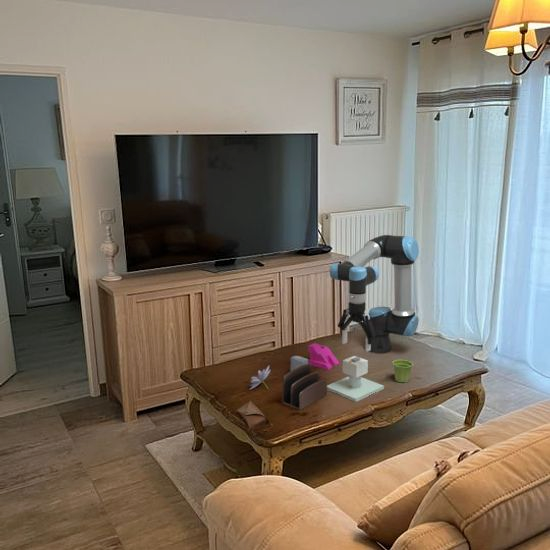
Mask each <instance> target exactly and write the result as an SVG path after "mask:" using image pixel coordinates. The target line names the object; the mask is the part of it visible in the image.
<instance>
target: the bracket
mask: <svg viewBox="0 0 550 550" xmlns="http://www.w3.org/2000/svg"><path fill="white" fill-rule="evenodd" d="M307 350H308V351H307V352H308V353H310V354H309V355H310V356H309V357H310V358H309V359H308V364H311V367H316V368H319V369H322V368H323V370H327V371H329V370H331V369H333V366H334V365H335V367H337V366H338V365H339V364H340V362H339V360H338V359H337V357H335V355H334V353H333V351H331V349H330V348H329V347H328V346H325V345H321V344H318V343H315V342H314V343H311V344H310V345H308V349H307ZM337 364H338V365H337Z"/></svg>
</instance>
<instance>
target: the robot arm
mask: <svg viewBox="0 0 550 550" xmlns="http://www.w3.org/2000/svg"><path fill="white" fill-rule="evenodd" d="M419 252H420V249H419V243H418V241H417V240H416V239H415V238H414V237H413V236H412V237H410V236H407V235H406V236H403V235H390V234H383V235H378V236H376V237H373V238H371V239H370V240H368V241H367V242H366V243H364V245H363V247H362V248H360V249H359V250H358V251H356V252H355V253H354V254H352V255H351V256H349V257H348V258H346V260H344V261H343V262H342V263H332V264H331V265H330V268H329V276H330V278H331V279H332V280H336V281H342V282H348V301H349V302H348V307H347V308H346V309H343V311H342V315H341V317H340V319H339V321H338V324H337V327H338V328H340V335H341V336H342V337H341V345H342V344H343V345H344V344H347V343H348V328H347V327H348V326H349V325H350V324H351V323H352V322H354V323H357V324H359V325H360V326H361V328H362V330H363V332H364V334H365V335H366V337H365V341H364V344H363V345H364V346H363V349H364V348H365V349H364V350H365V352H370V353H373V352H375V353H374V354H386V352H387V353H390V352H392V351H393V344H392V341H391V337H390V334H392V335H398V336H403V337H413V336H414V335H415V334H416V331H417V330H418V326H419V316H418V315H416V314H415V309H413V308H412V266H413V264H415V262H416V260H417V259H418V258H419ZM379 258H387V259H390V264H391V265H393V272H394V274H393V277H394V278H393V280H394V281H393V282H394V283H393V284H394V286H393V288H394V289H393V290H394V291H393V292H394V308H393V309H392V308H391V307H389V306H376V307H372V308H370V309H369V310H368V314H366V312H365V311H366V304H367V303H366V300H367V286H368V285H371V284H374V283H375V282H376V281H377V280H378V279H379V276H380V273H379V272H380V271H379V270H378V268H377V267H375V266H373V265H370V266H369V265H368V266H366V265H367V264H369V263H370V262H371V261H373V260H376V259H379ZM391 309H392V310H391ZM391 350H392V351H391Z"/></svg>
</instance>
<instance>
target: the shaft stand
mask: <svg viewBox="0 0 550 550" xmlns="http://www.w3.org/2000/svg"><path fill="white" fill-rule="evenodd" d="M360 358H361V357H359V356H356V357H355V358H353V359H351V361H353V362H357V361H359V360H360ZM384 389H385V385H383V384H380V383H378V382H376V381H373V380H370V379H368V378H365V377H362V376H359V377H357V378H356V377H353V376H350V375H348V376H347V377H346V376H345V377H343V378H342V379H340V380H337V381H334V382H332V383H329V384H327V391H328V390H329V392H331V393H333V392H334V393H333V394H336V393H337V394H336V395H338V394H339V395H338V396H340V395H341V396H340V397H343V398H345V397H346V399H347V398H348V400H350V401H353V402H355V403H356V402H358V401H361V400H363V399H366V398H367V397H369V395H370V396H371V394H372V395H374V394H376V393H378V392H380V391H382V390H384ZM375 392H376V393H375ZM373 393H374V394H373Z"/></svg>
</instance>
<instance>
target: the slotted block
mask: <svg viewBox="0 0 550 550" xmlns="http://www.w3.org/2000/svg"><path fill="white" fill-rule="evenodd" d="M355 357H357V355H353V356H351V357H347V358H345V359H343V360H342V373H343V374H345V375H348V376H349V375H350V376H353V377H356V378H357V377H359V376H361V377H362V376H364V375H366V374H368V370H369V368H368V367H369V366H368V365H369V360H367V359H365V358H362V357H359V358H360V360H359V361H357V362H353V361H351V359H353V358H355Z"/></svg>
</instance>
